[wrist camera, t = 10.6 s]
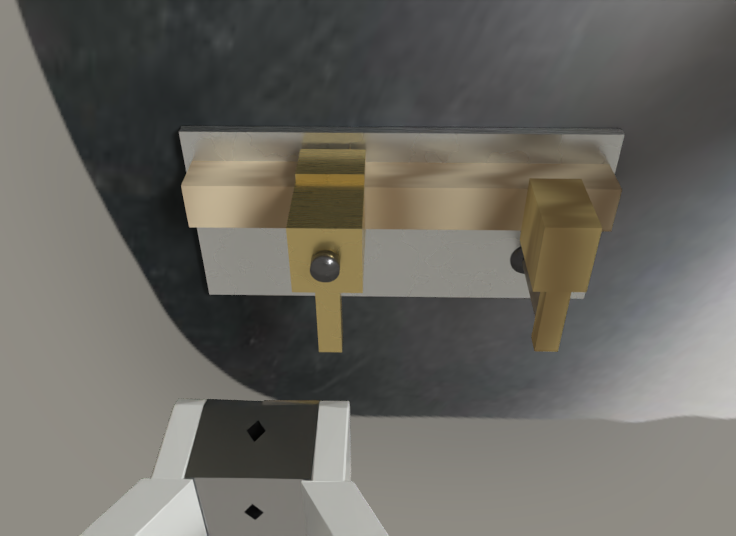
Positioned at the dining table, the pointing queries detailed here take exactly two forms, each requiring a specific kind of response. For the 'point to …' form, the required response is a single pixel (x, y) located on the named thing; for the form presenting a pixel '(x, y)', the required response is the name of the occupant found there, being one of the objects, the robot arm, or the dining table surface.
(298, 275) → the sliding leg
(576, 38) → the dining table surface
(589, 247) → the trammel beam
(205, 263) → the flange plate
